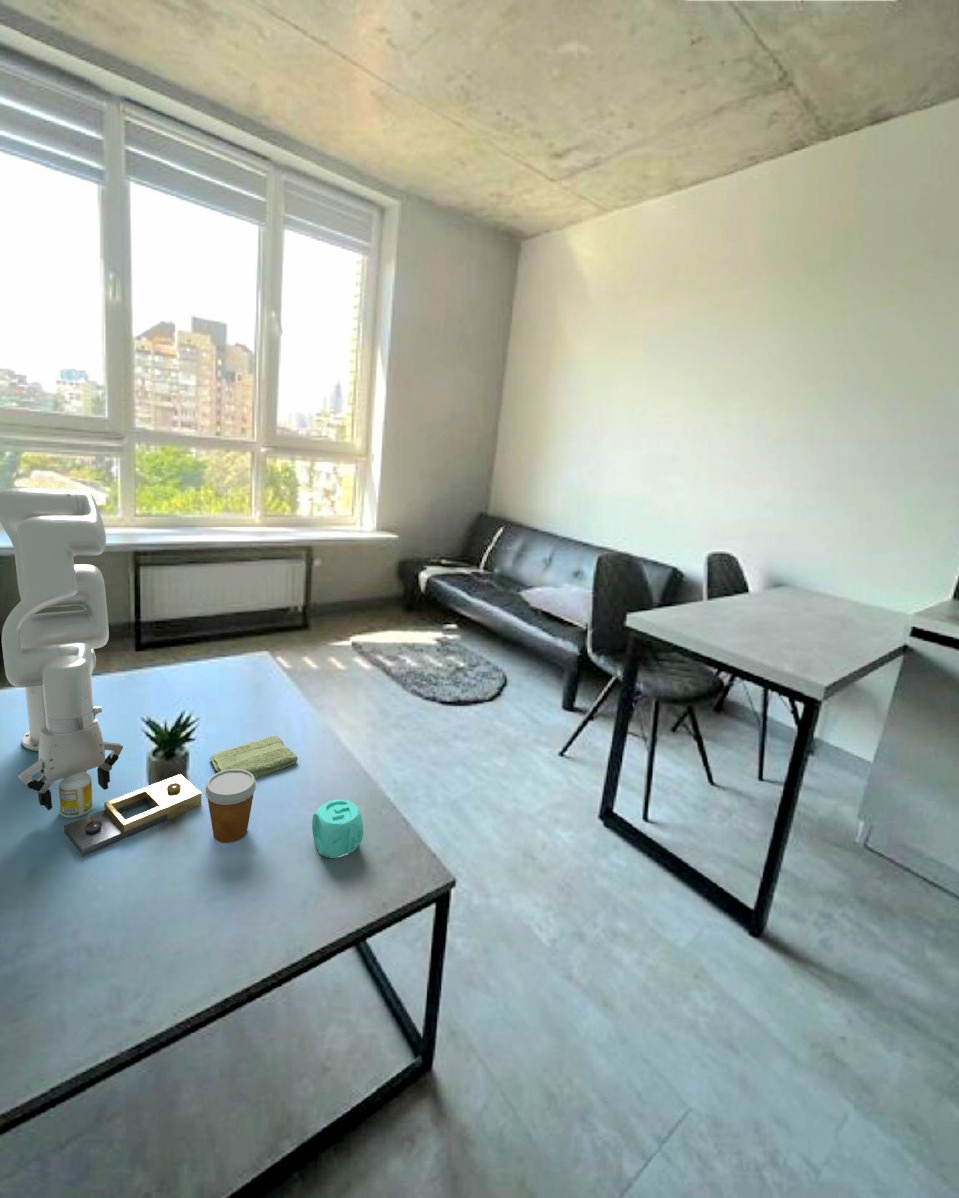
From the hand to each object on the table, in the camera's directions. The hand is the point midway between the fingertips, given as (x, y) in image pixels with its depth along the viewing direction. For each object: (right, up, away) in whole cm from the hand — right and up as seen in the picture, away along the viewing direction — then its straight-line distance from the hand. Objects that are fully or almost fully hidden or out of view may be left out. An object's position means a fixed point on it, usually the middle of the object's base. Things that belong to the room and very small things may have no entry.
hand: (76, 796), depth 114 cm
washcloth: (+26, -1, +24) cm, 36 cm away
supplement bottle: (-1, -3, +1) cm, 4 cm away
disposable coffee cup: (+31, -8, +1) cm, 32 cm away
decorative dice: (+52, -11, +2) cm, 53 cm away
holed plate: (+11, -5, +1) cm, 12 cm away
